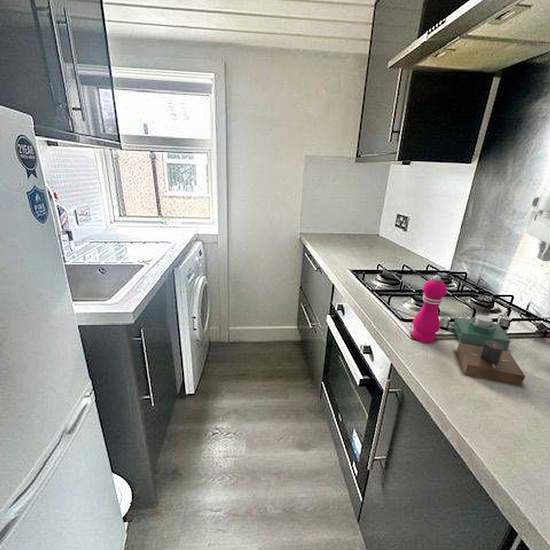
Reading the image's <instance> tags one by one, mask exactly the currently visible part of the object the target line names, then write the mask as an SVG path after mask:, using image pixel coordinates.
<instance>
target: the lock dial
mask: <svg viewBox="0 0 550 550" xmlns="http://www.w3.org/2000/svg"><path fill="white" fill-rule="evenodd" d="M482 347H483V349H482V352H481V357H482V358H483V359H484V360H486V361H489V362H492V363H497V362H499V360H500V357H501V354H502V352H503V351H504V350H503V349H504V347H503V346H502V345H501V344H500V343H497V342H495V341H490V340H487V341H485V343H484V346H482Z"/></svg>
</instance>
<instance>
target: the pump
mask: <svg viewBox="0 0 550 550" xmlns="http://www.w3.org/2000/svg"><path fill="white" fill-rule="evenodd" d="M475 317H476V319H475V323H476V324H477V325H480V326H483V327H490V326H491V323H492V322H493V319H492V318H491V317H490V316H487V315H484V314H477V315H476V316H475Z"/></svg>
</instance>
